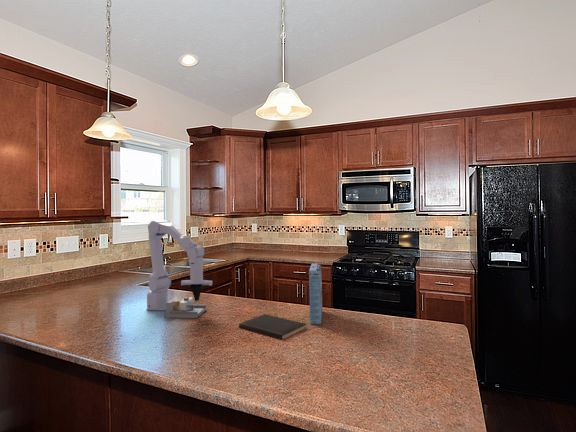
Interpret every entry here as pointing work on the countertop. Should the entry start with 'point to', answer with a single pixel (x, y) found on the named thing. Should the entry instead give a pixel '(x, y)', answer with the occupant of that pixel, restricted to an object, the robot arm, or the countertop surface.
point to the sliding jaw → (186, 304)
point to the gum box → (315, 293)
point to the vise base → (192, 313)
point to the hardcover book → (272, 326)
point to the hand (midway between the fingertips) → (197, 300)
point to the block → (177, 304)
